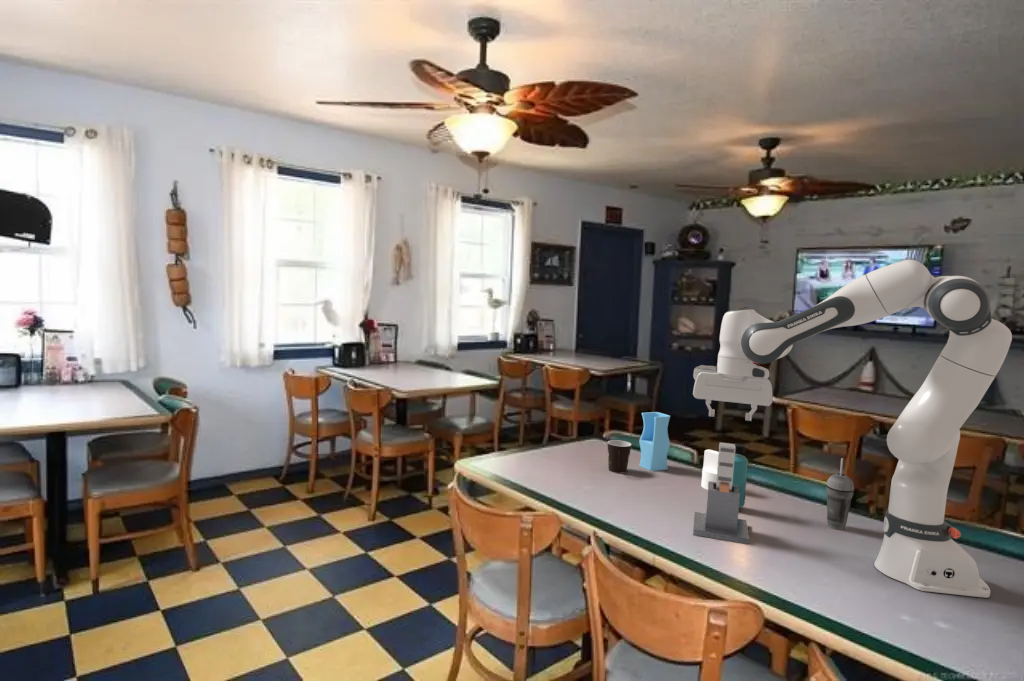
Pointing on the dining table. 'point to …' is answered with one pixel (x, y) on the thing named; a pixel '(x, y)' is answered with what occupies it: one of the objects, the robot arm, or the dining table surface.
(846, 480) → the beverage cup
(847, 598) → the dining table surface
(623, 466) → the coffee mug
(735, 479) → the beverage bottle
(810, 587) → the dining table surface
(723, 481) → the column
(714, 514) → the stand
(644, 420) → the vase
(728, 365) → the robot arm
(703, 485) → the white cylinder
